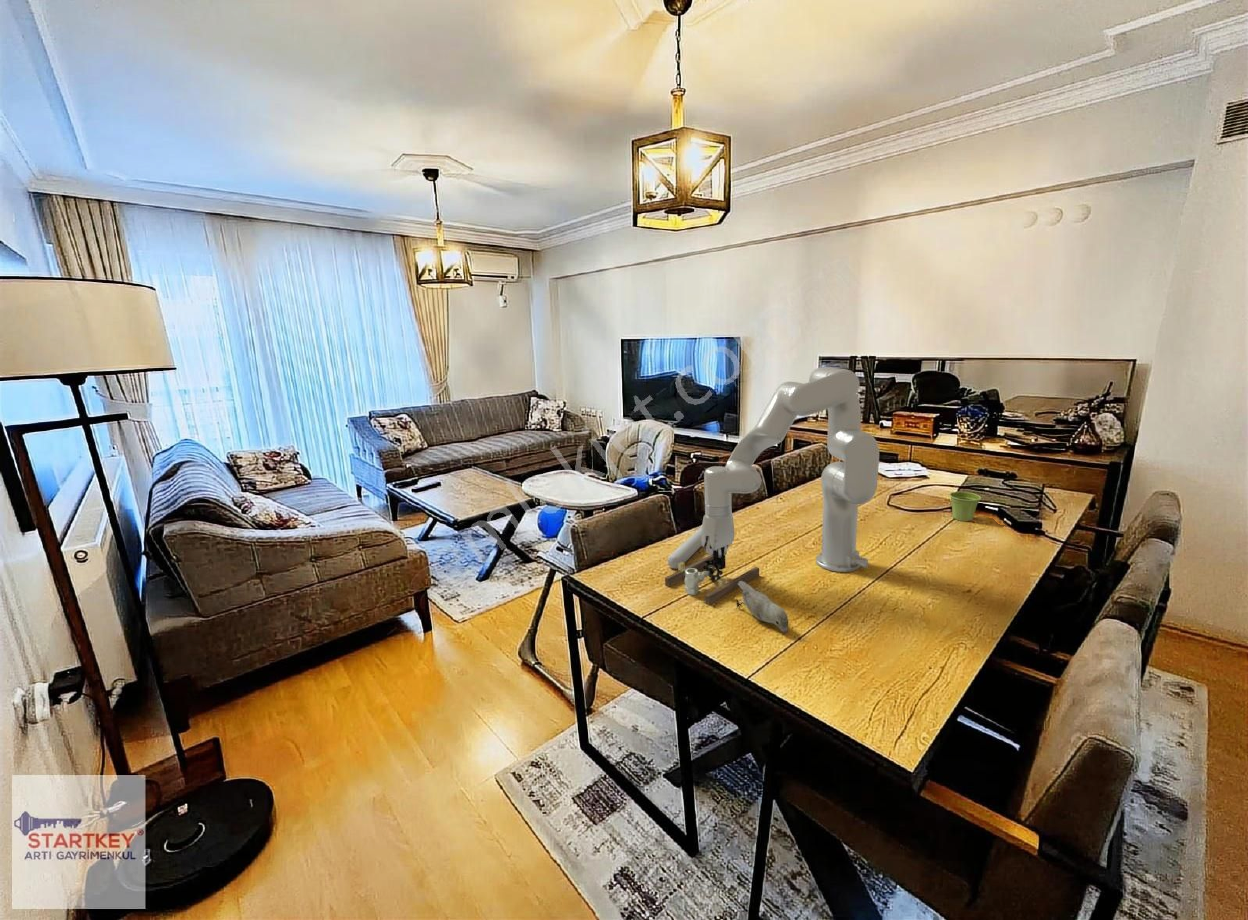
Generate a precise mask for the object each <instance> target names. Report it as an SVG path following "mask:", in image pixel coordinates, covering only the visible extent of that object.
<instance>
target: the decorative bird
mask: <svg viewBox="0 0 1248 920" xmlns="http://www.w3.org/2000/svg"><path fill="white" fill-rule="evenodd" d="M738 585H739V586H740V587H739V589H741V590H742V602H739V600H738V598H737V597H736V598H735V599H736V609H739V610H740V607H743V605H744V607H747V609H748V611H749V612H750V613H751V614H752V615H753V616H754V617H755V618H756V619H757V620H758V621H762V622H765V623H768V624H774V626H776V627H777V628H778V629H779V630H780V631H781V632H782V633H783V634H786V633H787V632H788V628H789V618H788V615H787V612H786V611H785V610H784V609H783V608H782V607H781V606H779V605H778V604H776V603H774V602H773V601H772V600H771V599H770V598H769V597H768V596H767V595H766V594H765V593H764V592H761V591H760V590H758V589H756V588H754V587H752V586H751V585H750V584H748V583H745V582H743V581H739V583H738Z"/></svg>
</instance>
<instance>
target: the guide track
mask: <svg viewBox="0 0 1248 920" xmlns="http://www.w3.org/2000/svg"><path fill="white" fill-rule="evenodd" d="M712 559H713V555H707V556H705V557H704V558H701V559H700V560H698V561H696V562H694V563H692V564H689V565H688V566H685V565H686V562H685V563H683V562H680V563H678V569H677V571H675V572H674V573H671V574H670V575H667V576H666V577H664V585H665V586H666V587H671V586H672V585H674V584H676V583H679V582H680V581H682V580H685V577H686V576H685V570H686V569H688V568H695V569H697V570H698V572H701V570H705V569H704V568H703V566H705V565H707V563H705V561H706V560H709V561H711V560H712ZM759 576H760V567H757V566H754V567H753V568H751V569H749V570H748V571H746V572H744V573H742V574H740V575H739V576H737V577H736V578H733V579H732V580H730V581H728V582H727V583H726V581H727V579H726V578H724V577H721V579H719V580H718V588H716V589H714V590H712V591H711V592H709V593H707V594H705V595H704V599H705V602H704V603H705V605H708V606H710V605H712V604H714V603H715V602H717V601H719V600H721V599H722V598H724V597H726V596H727V595H729V594H730V593H731V594H732V593H733V592H734V591H735V590H738V589H740V586H739V585H738V583H739V581H743V582H745V583H746V584H748V583H750V582H751V581H753V580H754V579H756V578H757V577H759Z"/></svg>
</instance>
